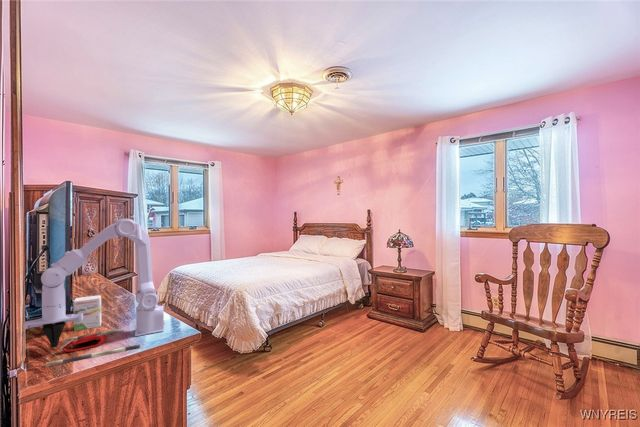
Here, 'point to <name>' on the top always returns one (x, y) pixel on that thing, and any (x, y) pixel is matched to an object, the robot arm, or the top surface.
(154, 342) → the top surface
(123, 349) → the track
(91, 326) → the ink box
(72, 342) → the tracker holder
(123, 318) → the top surface
